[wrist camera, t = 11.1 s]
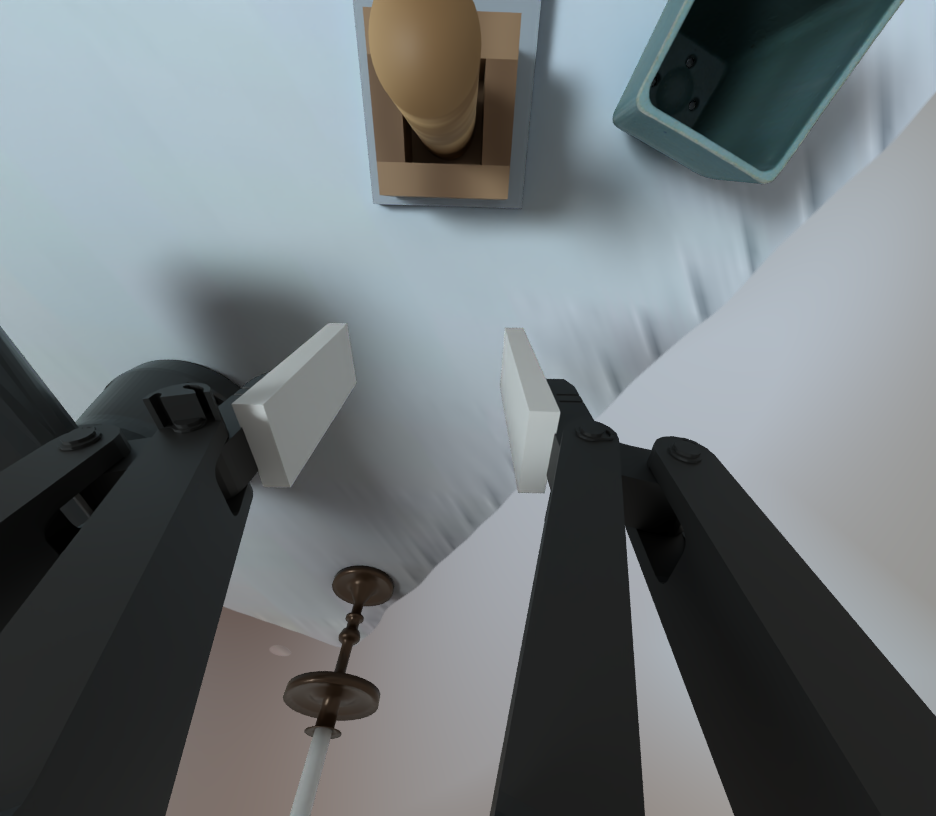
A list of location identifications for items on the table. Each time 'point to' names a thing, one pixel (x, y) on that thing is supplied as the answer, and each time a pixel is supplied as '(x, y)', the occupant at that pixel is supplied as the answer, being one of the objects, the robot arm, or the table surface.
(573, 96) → the table surface
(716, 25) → the flower pot
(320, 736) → the candlestick
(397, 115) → the block
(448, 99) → the dowel
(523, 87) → the board
